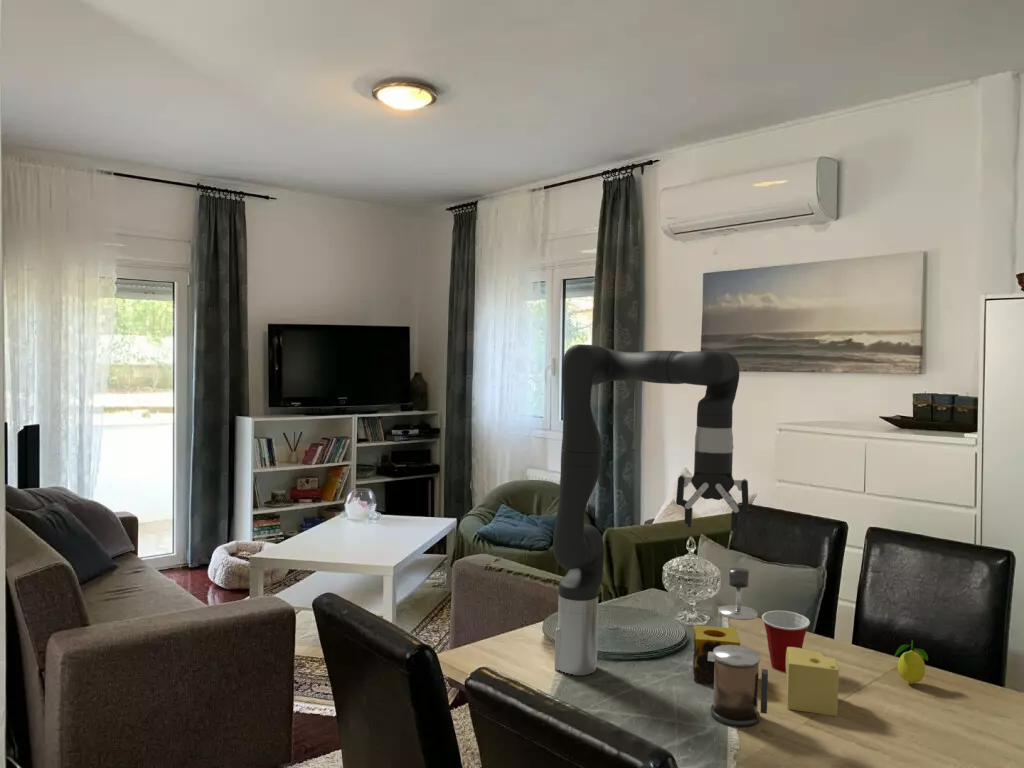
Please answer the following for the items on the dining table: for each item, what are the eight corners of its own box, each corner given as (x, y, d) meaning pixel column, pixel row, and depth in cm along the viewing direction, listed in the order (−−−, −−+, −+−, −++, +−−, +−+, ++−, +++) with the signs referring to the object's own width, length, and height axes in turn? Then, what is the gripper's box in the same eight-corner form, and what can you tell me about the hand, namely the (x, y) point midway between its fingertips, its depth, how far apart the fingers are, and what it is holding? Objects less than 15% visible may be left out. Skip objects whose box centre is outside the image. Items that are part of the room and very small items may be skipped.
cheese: (835, 697, 170) (837, 652, 170) (839, 719, 160) (840, 670, 159) (784, 690, 173) (786, 645, 173) (784, 710, 163) (786, 662, 163)
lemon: (893, 685, 177) (894, 641, 176) (894, 676, 182) (895, 634, 182) (927, 692, 174) (928, 647, 173) (927, 682, 179) (928, 639, 178)
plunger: (717, 617, 157) (718, 572, 156) (719, 606, 164) (720, 563, 164) (757, 621, 154) (758, 576, 154) (757, 610, 161) (758, 567, 161)
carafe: (704, 722, 157) (706, 657, 156) (708, 702, 166) (709, 641, 166) (766, 731, 153) (768, 665, 153) (766, 711, 162) (768, 648, 162)
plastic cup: (757, 671, 183) (759, 620, 183) (762, 656, 193) (763, 607, 193) (807, 680, 179) (809, 628, 179) (809, 663, 189) (811, 614, 188)
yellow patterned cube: (740, 687, 174) (741, 643, 174) (693, 683, 176) (694, 639, 176) (736, 670, 184) (738, 628, 184) (692, 666, 186) (693, 624, 186)
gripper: (676, 449, 159) (674, 529, 159) (749, 453, 154) (747, 535, 155) (679, 445, 166) (677, 522, 166) (750, 449, 161) (748, 527, 162)
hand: (711, 528), depth 160 cm, fingers open, 8 cm apart
